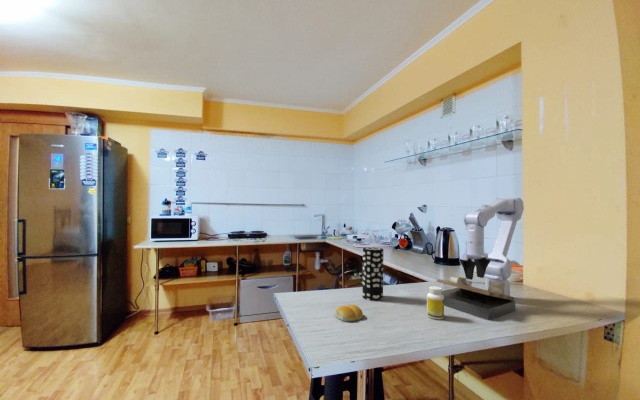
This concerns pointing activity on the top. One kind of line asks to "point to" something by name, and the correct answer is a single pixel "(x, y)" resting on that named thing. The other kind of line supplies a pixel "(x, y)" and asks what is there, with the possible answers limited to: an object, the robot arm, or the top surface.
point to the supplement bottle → (435, 303)
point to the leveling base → (477, 303)
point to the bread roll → (349, 313)
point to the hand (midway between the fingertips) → (474, 278)
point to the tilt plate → (493, 288)
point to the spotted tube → (372, 274)
